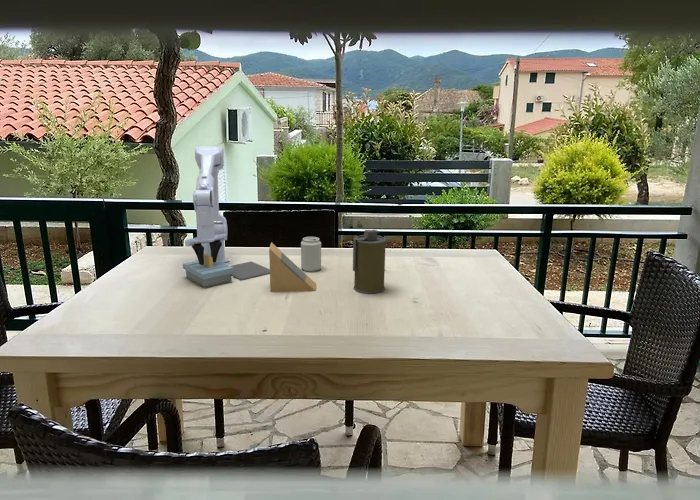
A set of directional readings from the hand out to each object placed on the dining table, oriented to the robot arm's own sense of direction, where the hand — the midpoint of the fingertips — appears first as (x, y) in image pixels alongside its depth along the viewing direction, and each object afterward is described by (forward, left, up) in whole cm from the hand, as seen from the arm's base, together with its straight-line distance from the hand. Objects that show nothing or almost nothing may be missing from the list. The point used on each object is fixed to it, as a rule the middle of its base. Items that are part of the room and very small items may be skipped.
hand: (207, 263), depth 179 cm
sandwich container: (+25, +18, -6) cm, 32 cm away
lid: (0, 0, -3) cm, 3 cm away
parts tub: (0, 0, -6) cm, 6 cm away
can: (+13, +35, -6) cm, 38 cm away
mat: (0, +15, -6) cm, 16 cm away
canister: (+42, +37, -6) cm, 56 cm away
